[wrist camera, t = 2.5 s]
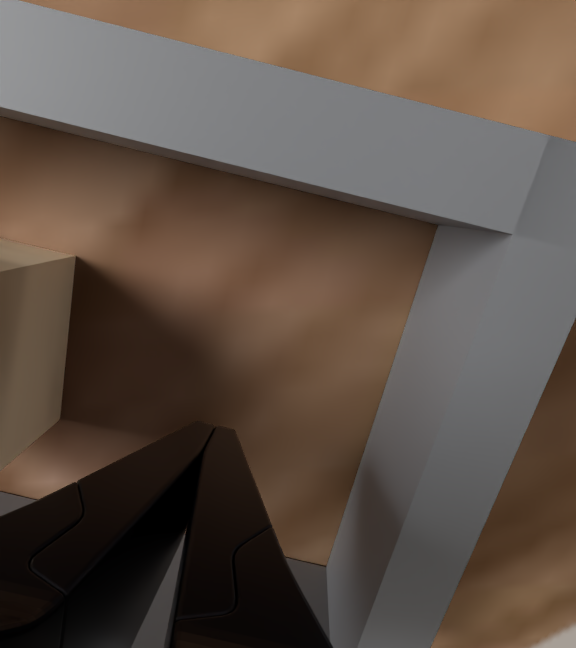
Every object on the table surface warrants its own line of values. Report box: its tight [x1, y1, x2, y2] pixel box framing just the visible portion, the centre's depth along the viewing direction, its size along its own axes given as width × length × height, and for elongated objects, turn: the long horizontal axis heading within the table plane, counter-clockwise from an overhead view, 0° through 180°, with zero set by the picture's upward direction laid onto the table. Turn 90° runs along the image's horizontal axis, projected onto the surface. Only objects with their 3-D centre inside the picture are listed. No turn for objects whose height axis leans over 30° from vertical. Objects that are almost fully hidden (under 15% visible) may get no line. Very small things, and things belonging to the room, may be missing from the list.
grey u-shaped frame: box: [0, 0, 576, 648], centre depth 10 cm, size 18×14×4 cm
